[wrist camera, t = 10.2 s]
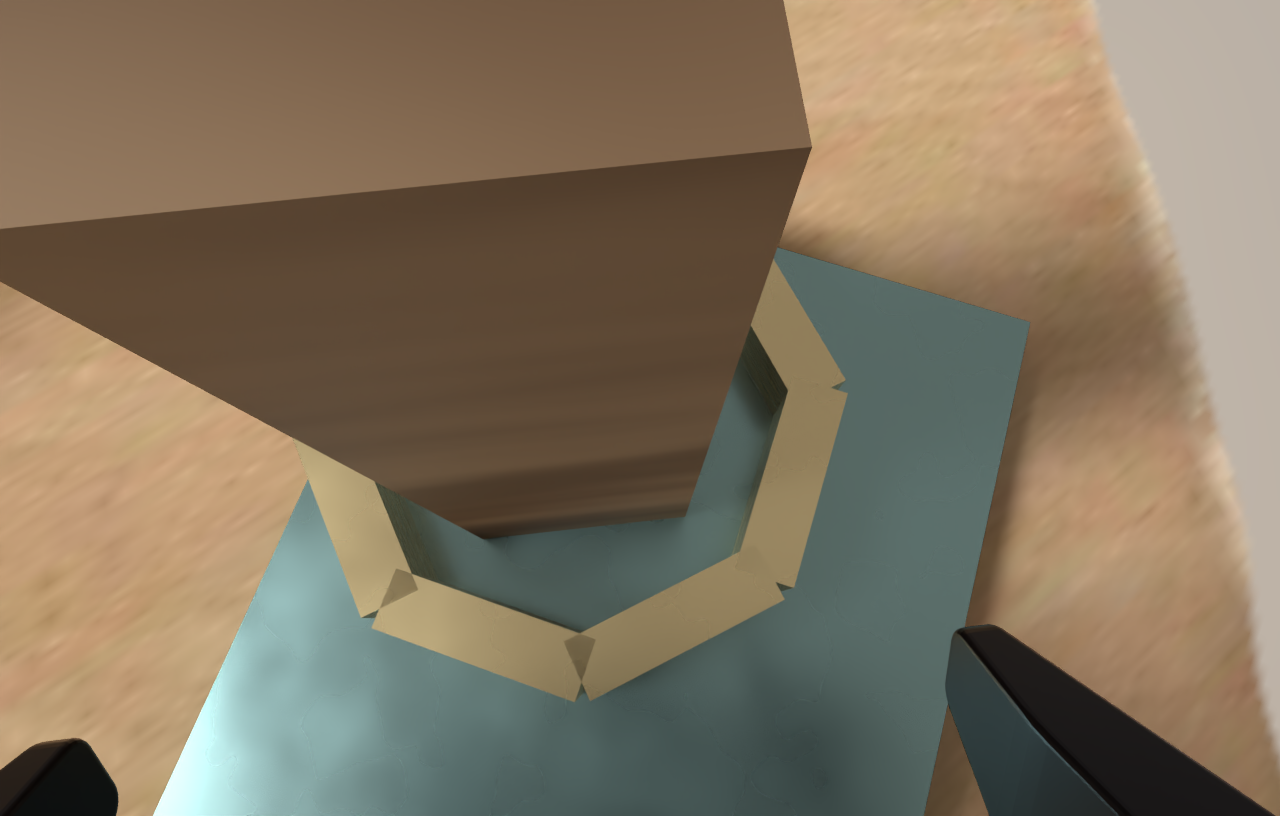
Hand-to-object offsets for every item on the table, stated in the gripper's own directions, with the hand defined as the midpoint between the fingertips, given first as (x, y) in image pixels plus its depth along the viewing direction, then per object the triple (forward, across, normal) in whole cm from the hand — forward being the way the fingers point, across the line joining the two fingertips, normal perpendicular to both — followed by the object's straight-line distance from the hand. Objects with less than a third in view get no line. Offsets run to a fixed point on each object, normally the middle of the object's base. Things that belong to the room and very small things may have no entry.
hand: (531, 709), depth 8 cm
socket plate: (+8, -1, +6) cm, 10 cm away
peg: (+10, 0, +2) cm, 10 cm away
